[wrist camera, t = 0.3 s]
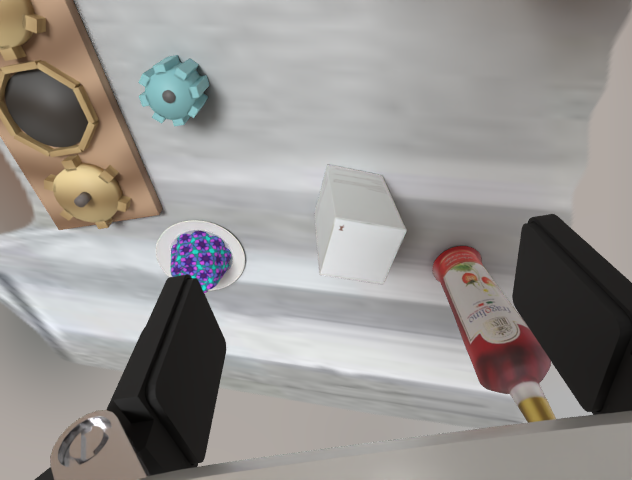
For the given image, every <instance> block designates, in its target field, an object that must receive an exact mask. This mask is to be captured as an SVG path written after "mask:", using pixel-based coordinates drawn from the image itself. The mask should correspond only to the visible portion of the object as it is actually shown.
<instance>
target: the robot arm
mask: <svg viewBox="0 0 632 480" xmlns="http://www.w3.org/2000/svg"><path fill="white" fill-rule="evenodd" d="M513 303H514V306H515V308H516V309H517V311H518V312H519V314H520V315H521V317H522V318H523V320H524V321H525V323H526V324H527V326H528V327H529V329H530V330H531V332H532V333H533V335H534V336H535V338H536V339H537V341H538V342H539V344H540V345H541V347H542V348H543V350H544V351H545V353H546V354H547V356H548V357H549V359H550V360H551V361H552V363H553V365H554V366H555V368H556V369H557V371H558V372H559V374H560V375H561V377H562V378H563V379H564V381H565V383H566V384H567V386H568V387H569V388H570V390H571V392H572V393H573V395H574V396H575V398H576V399H577V401H578V402H579V404H580V405H581V406H582V408H583V409H584V410H585V411H587V412H592V413H593V415H589V416H579V417H570V418H561V419H553V420H545V421H537V422H529V423H521V424H513V425H505V426H497V427H489V428H481V429H473V430H465V431H458V432H450V433H442V434H435V435H427V436H419V437H411V438H403V439H397V440H388V441H380V442H373V443H366V444H358V445H350V446H343V447H335V448H328V449H321V450H313V451H306V452H298V453H291V454H283V455H276V456H269V457H261V458H254V459H247V460H240V461H234V462H227V463H220V464H214V465H208V466H201V467H197V466H198V463H201V462H203V460H204V458H205V453H206V449H207V444H208V439H209V434H210V429H211V424H212V419H213V414H214V409H215V404H216V399H217V394H218V389H219V384H220V379H221V374H222V369H223V364H224V359H225V354H226V342H225V339H224V336H223V334H222V332H221V330H220V328H219V325H218V323H217V321H216V319H215V316H214V314H213V312H212V310H211V308H210V305H209V303H208V301H207V299H206V296H205V294H204V292H203V290H202V287H201V285H200V283H199V281H198V279H197V278H192V277H191V276H190V275H188V274H186V275H180V276H174V277H169V278H168V279H167V280H166V283H165V285H164V287H163V289H162V292H161V294H160V296H159V298H158V300H157V303H156V305H155V307H154V309H153V312H152V314H151V316H150V318H149V320H148V323H147V325H146V327H145V328H144V330H143V331H142V333H141V335H140V337H139V339H138V342H137V344H136V346H135V348H134V350H133V353H132V355H131V357H130V359H129V361H128V364H127V366H126V368H125V370H124V372H123V375H122V377H121V379H120V381H119V383H118V386H117V388H116V390H115V392H114V394H113V397H112V399H111V401H110V403H109V405H108V408H107V410H100V411H95V412H92V413H89V414H86V415H85V416H83V417H82V418H79V419H78V420H76V421H75V422H74V423H73V424H71V425H70V426H69V427H68V428H67V429H66V430H65V431H64V432H63V433H62V434H61V436H60V437H59V438H58V440H57V442H56V443H55V445H54V447H53V449H52V453H51V456H50V463H51V464H50V465H51V467H50V468H49V469H47V470H46V471H45V472H44V473H42V474H41V475H40V476H39V477H37V478H36V479H35V480H632V283H631V282H630V281H629V280H628V279H627V278H626V277H625V276H623V275H622V274H621V273H620V272H619V271H618V270H617V269H616V268H614V267H613V266H612V265H611V264H610V263H609V262H608V261H607V260H606V259H605V258H603V257H602V256H601V255H600V254H599V253H598V252H597V251H595V249H593V248H592V247H591V246H590V245H589V244H588V243H587V242H586V241H585V240H583V239H582V238H581V237H580V236H579V235H578V234H577V233H576V232H574V231H573V230H572V229H571V228H570V227H569V226H568V225H567V224H566V223H564V222H563V221H562V220H561V219H560V218H559V217H558V216H556V215H555V214H549V215H543V216H537V217H532V218H530V219H529V221H528V223H527V224H524V225H523V227H522V232H521V239H520V246H519V253H518V260H517V267H516V274H515V281H514V288H513Z"/></svg>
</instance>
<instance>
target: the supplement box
mask: <svg viewBox="0 0 632 480" xmlns="http://www.w3.org/2000/svg"><path fill="white" fill-rule="evenodd" d="M314 216H315V227H316V239H317V251H318V262H319V273H320V275H322V276H330V277H337V278H343V279H350V280H356V281H363V282H369V283H376V284H384V282H385V279H386V277H387V275H388V272H389V270H390V267H391V265H392V263H393V260H394V258H395V256H396V254H397V252H398V249H399V247H400V245H401V243H402V241H403V239H404V236H405V234H406V232H407V230H406V228H405V226H404V223H403V221H402V219H401V217H400V214H399V212H398V210H397V208H396V205H395V203H394V201H393V199H392V196H391V194H390V192H389V190H388V187H387V185H386V183H385V181H384V179H383V176H382V175H379V174H374V173H369V172H364V171H359V170H354V169H349V168H343V167H338V166H333V165H327V167H326V171H325V175H324V179H323V182H322V186H321V190H320V194H319V197H318V201H317V205H316V209H315V213H314Z"/></svg>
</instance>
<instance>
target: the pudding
mask: <svg viewBox="0 0 632 480" xmlns="http://www.w3.org/2000/svg"><path fill="white" fill-rule="evenodd" d="M192 230H203V231H208V232H211V233H214V234H216V235H218V236H219V237H221V238H222V239H223V240H224V241H225V242H226V243H227V244H228V245H229V247H230V249H231V251H232V255H233V261H232V265H231V267H230V268H229V263H228V262H229V261H230V259H231V252H230V250H229V249H227V248H225V247H224V242H223V240H222V239H221V238H219V237H217V236H209V235H208V234H207V233H206V232H203V231H195V232H194V233H193V234H191V235H190V234H183V235H180V234H182V233H184V232H187V231H192ZM179 235H180V236H179ZM178 236H179V237H178ZM176 237H178V238H177V244H175V245H173V246H172V248H171V245H172V243H173V241H174V240H175V238H176ZM170 249H171V254H170ZM156 257H157V261H158V263H159V265H160V267H161V268H162V270H163V271H164V272H165V273H166V274H167V275H168V277H174V276H180V275H186V274H188V275H190V276H191V277H192V278H197V279H198V281H199V283H200V285H201V287H202V290H203V292H204V293H206V292H207V291H211V290H218V289H221V288H224V287H227V286H229V285H230V284H232V283H233V282H235V281H236V280H237V279H238V278H239V277H240V275H241V273H242V272H243V269H244V265H245V255H244V251H243V248H242V247H241V245H240V243H239V242H238V240H237V239H236V238H235V237H234V236H233V235H232V234H231V233H230V232H228V231H227V230H225V229H224V228H222V227H220V226H218V225H216V224H213V223H209V222H205V221H195V220H190V221H184V222H180V223H177V224H174V225H172V226H171V227H169V228H168V229H166V230H165V231H164V232H163V233H162V234H161V236H160V237H159V239H158V241H157V245H156ZM228 268H229V270H228ZM227 270H228V271H227ZM226 271H227V272H226Z"/></svg>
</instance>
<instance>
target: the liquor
mask: <svg viewBox="0 0 632 480" xmlns="http://www.w3.org/2000/svg"><path fill="white" fill-rule="evenodd" d="M432 271H433V275H434V277H435V278H436V280H438V281H439V282H440V283H441V285H442V287H443V290H444V292H445V294H446V297H447V299H448V302H449V304H450V307H451V309H452V312H453V314H454V317H455V319H456V322H457V325H458V328H459V330H460V333H461V336H462V339H463V342H464V344H465V347H466V349H467V351H468V354H469V356H470V359H471V361H472V364H473V366H474V369H475V372H476V374H477V377H478V379H479V382H480V384H481V385H482V386H483V387H485V388H486V389H488V390H491V391H495V392H499V393H504V394H510V395H511V396H512V398H513V400H514V401H515V403H516V404H517V406H518V408H519V409H520V411H521V412H522V414H523V415H524V417H525V419H526V420H527V422H528V423H529V422H537V421H545V420H553V419H556V418H555V416H554V414H553V412H552V410H551V407H550V406H549V403H548V401H547V399H546V397H545V395H544V393H543V391H542V389H541V387H540V385H539V383H540V382H541V381H542V380H543V378H544V377H545V375H546V374H547V372H548V370H549V368H550V366H551V360H550V359H549V357H548V356H547V354H546V353H545V351H544V350H543V348H542V347H541V345H540V344H539V342H538V341H537V339H536V338H535V336H534V335H533V333H532V332H531V330H530V329H529V327H528V326H527V325H526V323H525V322H524V320H523V319H522V318H521V316H520V315H519V314H518V312H517V311H516V310H515V309H514V307H513V306H512V305H511V303H510V302H509V301H508V299H507V298H506V297H505V296H504V294H503V293H502V291H501V290H500V289H499V287H498V286H497V284H496V283H495V282H494V280H493V279H492V278H491V276H490V275H489V273H488V272H487V270H486V269H485V267H484V266H483V265H482V258H481V255H480V254H479V252H478V251H477V250H475V249H474V248H472V247H468V246H457V247H453V248H450V249H448V250H446V251H444V252H443V253H442V254H440V255H439V256H438V257H437V259H436V260H435V262H434V264H433V268H432Z"/></svg>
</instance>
